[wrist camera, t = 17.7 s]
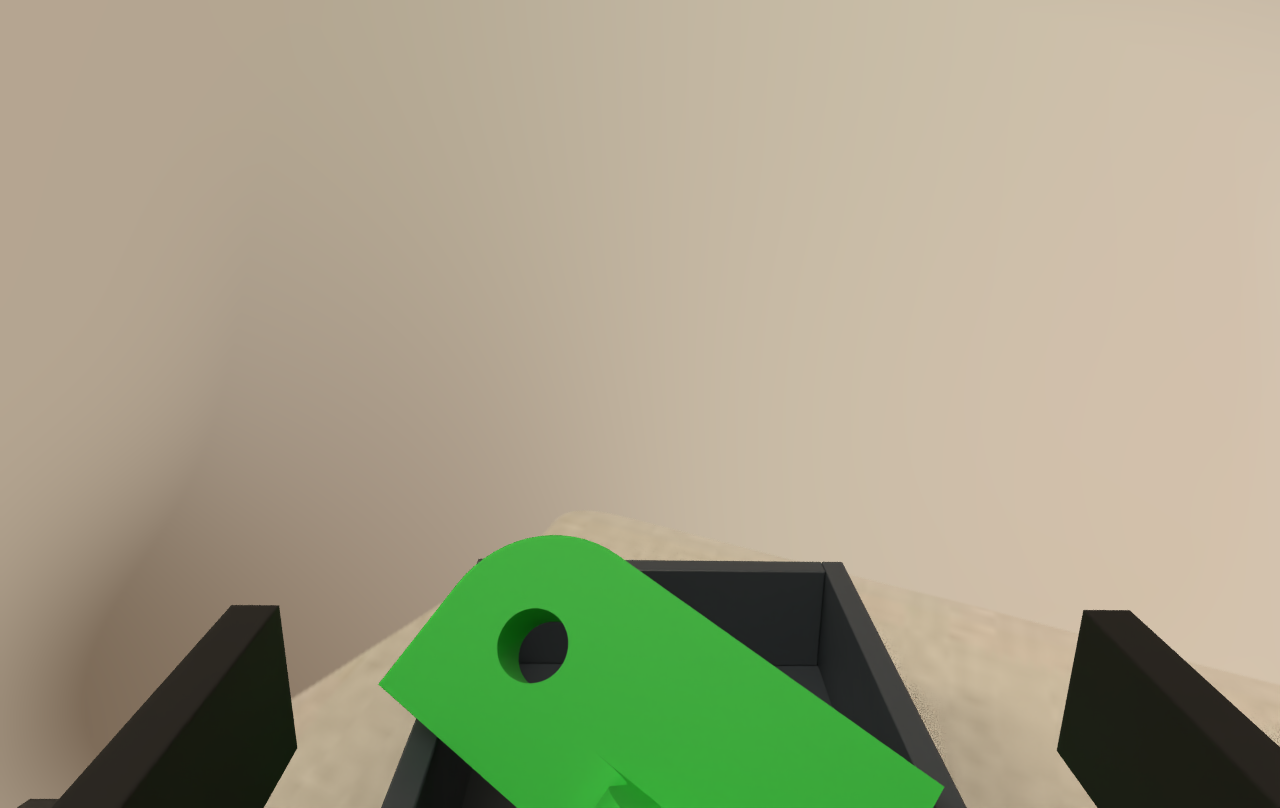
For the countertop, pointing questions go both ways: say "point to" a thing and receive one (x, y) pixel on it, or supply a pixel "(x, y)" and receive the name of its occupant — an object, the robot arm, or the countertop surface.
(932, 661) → the countertop surface
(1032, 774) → the countertop surface
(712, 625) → the mechanical part
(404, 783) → the dark grey open tray
